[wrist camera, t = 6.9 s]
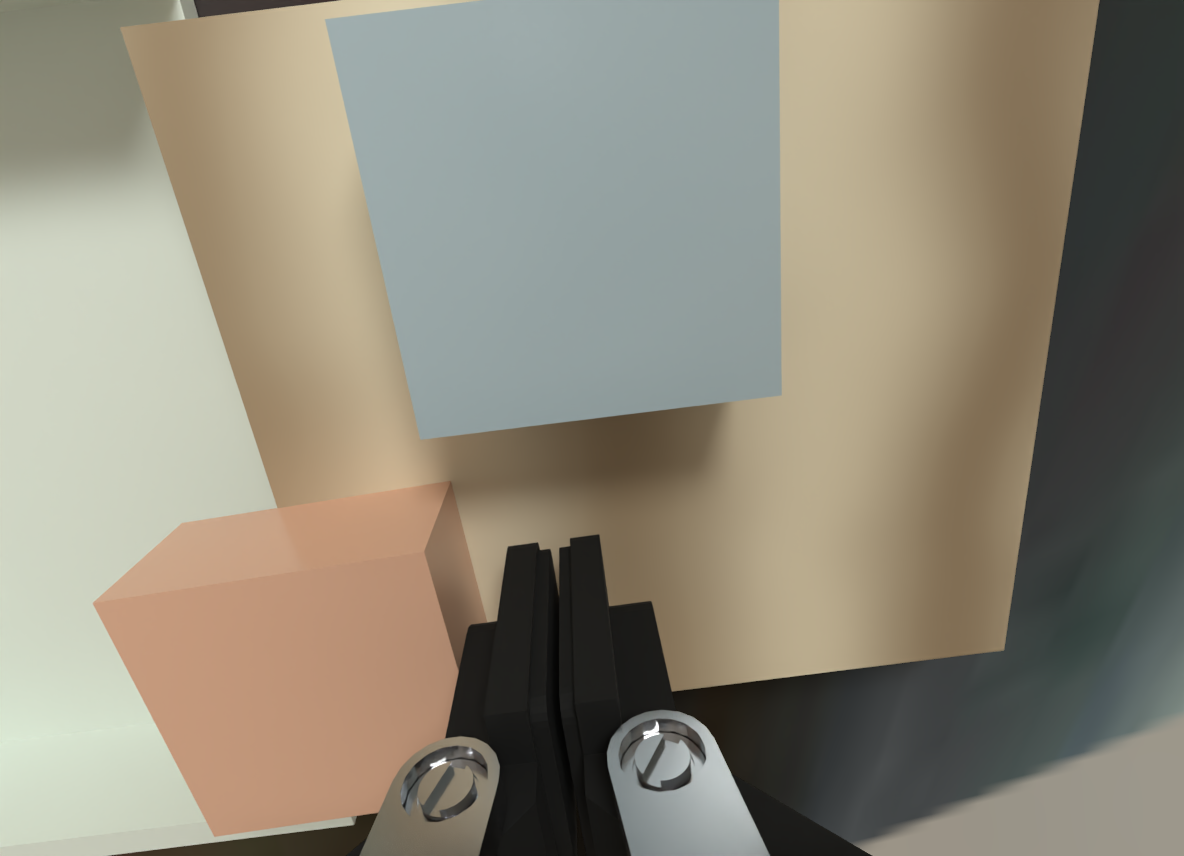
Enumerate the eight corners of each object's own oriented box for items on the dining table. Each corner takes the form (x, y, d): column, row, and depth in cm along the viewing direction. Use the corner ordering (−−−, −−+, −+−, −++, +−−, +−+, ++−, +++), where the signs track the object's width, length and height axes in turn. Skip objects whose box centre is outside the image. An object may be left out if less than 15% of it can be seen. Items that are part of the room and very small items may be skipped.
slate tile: (725, 16, 9) (778, -37, 7) (736, 352, 11) (781, 395, 9) (381, 57, 9) (324, 19, 7) (448, 387, 11) (420, 439, 9)
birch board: (999, -37, 11) (1113, -93, 9) (939, 581, 16) (1004, 650, 14) (210, 58, 11) (119, 27, 9) (380, 650, 16) (350, 731, 14)
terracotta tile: (450, 480, 12) (424, 551, 9) (505, 693, 14) (493, 795, 11) (181, 523, 12) (92, 602, 10) (271, 728, 14) (214, 836, 11)
